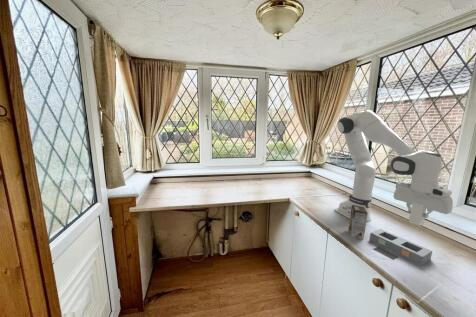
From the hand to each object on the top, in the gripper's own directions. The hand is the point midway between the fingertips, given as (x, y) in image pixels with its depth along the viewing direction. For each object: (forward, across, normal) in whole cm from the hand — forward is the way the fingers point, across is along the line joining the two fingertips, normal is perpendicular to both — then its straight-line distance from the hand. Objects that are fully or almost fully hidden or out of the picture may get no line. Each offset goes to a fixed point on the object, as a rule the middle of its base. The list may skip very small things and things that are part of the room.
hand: (417, 215), depth 92 cm
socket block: (+21, -5, 0) cm, 22 cm away
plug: (+4, 0, 0) cm, 4 cm away
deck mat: (+21, -6, -10) cm, 24 cm away
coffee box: (+21, -23, -6) cm, 32 cm away
